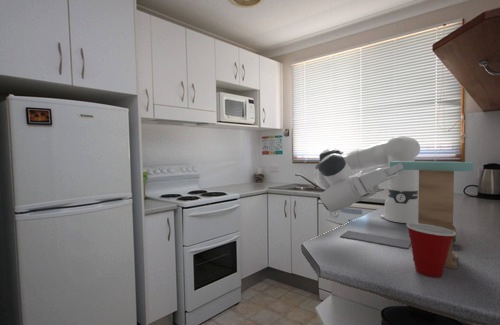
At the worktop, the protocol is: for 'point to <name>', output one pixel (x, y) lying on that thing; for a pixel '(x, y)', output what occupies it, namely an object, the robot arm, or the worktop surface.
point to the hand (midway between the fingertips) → (404, 164)
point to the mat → (377, 239)
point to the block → (435, 166)
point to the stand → (437, 204)
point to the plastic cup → (430, 247)
